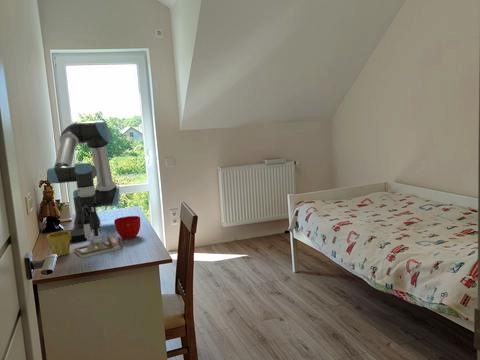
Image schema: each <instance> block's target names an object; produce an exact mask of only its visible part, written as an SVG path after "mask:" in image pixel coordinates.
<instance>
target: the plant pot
mask: <svg viewBox="0 0 480 360" xmlns="http://www.w3.org/2000/svg"><path fill="white" fill-rule="evenodd" d="M60 231H61V232H59V231H54V232H55V233H53V232H52V233H50V234H47V236H46V239H47V243H48V244H49V245H50V248H51V250H52V251H51V252H52V253H53V255H54V254H57V255H62V256H66V255H68V254H69V253H70V245H71V243H70V240H71V233H70V232H69V231H66V230H60Z"/></svg>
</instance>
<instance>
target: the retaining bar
mask: <svg viewBox="0 0 480 360" xmlns="http://www.w3.org/2000/svg"><path fill="white" fill-rule="evenodd" d="M107 242H110V243H111V244H112V246H113V247H118V246H119V242H118V241H117V239H115V236H114V235H109V236H107Z"/></svg>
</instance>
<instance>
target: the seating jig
mask: <svg viewBox="0 0 480 360" xmlns="http://www.w3.org/2000/svg"><path fill="white" fill-rule="evenodd" d="M122 239H123V238H122V237H121V236H120V235H118V236H117V240H118V241H117V242H118V247H113V246H112V244H111V243H110V242H108V241H107V242H106V241H101V243H102V244H104V245H105V248H100V247H97V244H96V245H95V250H93V251H91V249H87V246H88V245H89V244H87V245H83V246H82V245H81V246H78V247H74V251H73V252H74V253H75V254H77V255H78V256H79V257H80V258H87V257H90V256H91V257H92V256H94V255H99V254H103V253H107V252H112V251H116V250H121V249H123V240H122Z"/></svg>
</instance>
